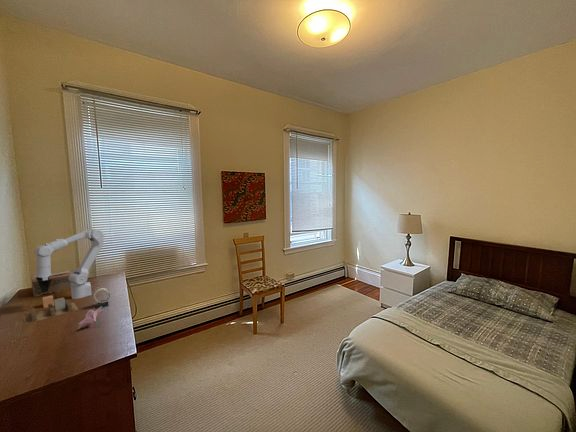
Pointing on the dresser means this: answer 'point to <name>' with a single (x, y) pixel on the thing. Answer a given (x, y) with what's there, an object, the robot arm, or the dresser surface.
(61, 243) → the robot arm
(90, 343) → the dresser surface
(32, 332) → the dresser surface
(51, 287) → the tissue box cover
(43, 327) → the dresser surface
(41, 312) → the cable comb
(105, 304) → the watch
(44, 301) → the terracotta plug
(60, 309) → the grey plug
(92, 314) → the lily
